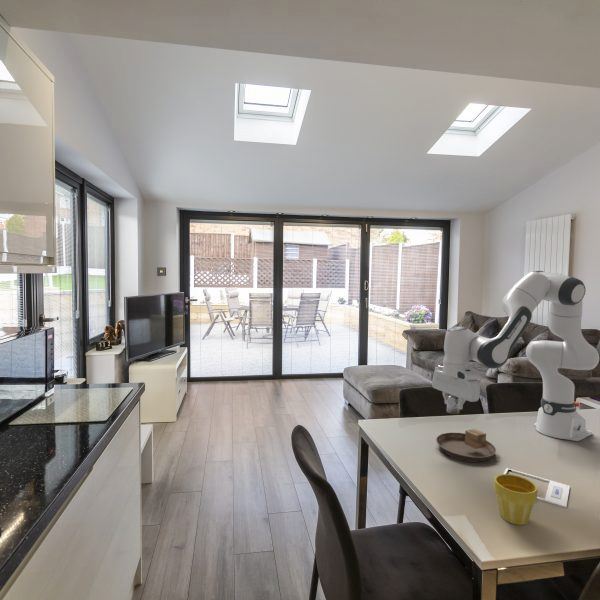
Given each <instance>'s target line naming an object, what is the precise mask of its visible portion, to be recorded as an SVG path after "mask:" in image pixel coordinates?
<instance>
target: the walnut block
mask: <svg viewBox="0 0 600 600" xmlns="http://www.w3.org/2000/svg"><path fill="white" fill-rule="evenodd" d="M464 434H465V444H466V445H468V446H470V447H472V448H474V449H478V448H483V447H485V446H486V441H487V432H483V431H481V430H479V429H477V428H471V429H467V430H465V433H464Z"/></svg>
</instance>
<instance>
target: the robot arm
mask: <svg viewBox="0 0 600 600" xmlns="http://www.w3.org/2000/svg"><path fill="white" fill-rule="evenodd" d="M585 295H586V286H585V283H584V282H583V281H582V280H581V279H579V278H576V277H574V276H572V277H571V276H569V275H564V274H562V273H559V272H555V273H554V272H550V271H549V272H548V271H544V270H533V271H531V272H529V273H526V274H525V275H524V276H523V277H521V278H520V279H519V280H518V281H516V283H514V284H513V285H512V287H510V289H509V290H508V291H507V292H506V293H505V294H504V297H503V298H502V299H501V307H502V310H503V312H504V313H505V314H506V315H507V317H508V319H507V322H506V323H505V324H504V326H503V327H502V329H501V330H500V332H499V333H498V334H497V336H495V337H491V338H489V337H485V336H482V335H480V334H478V333H475V332H473V331H472V330H471V329H469V327H467V326H463V325H462V326H458V325H457V326H451V327H450V328H448V329H447V330H446V332H445V337H444V344H443V351H444V357H443V359H442V360H443V361H442V365H439V364H438V365H436V366H435V367H434V372H433V374H432V381H431V386H432V388H433V389H435V390H437V391H441V392H442V397H443V399H444V404H445V405H447V395H450V394H451V395H454V396H456V397H459V400H460V401H459V403H458V404H456V408H457V409H459V410H463V408H464V406H463V405H464V404H465V402H466V401H468V402H470V403H471V402H472V403H473V402H478V401H479V399H480V397H481V396H480V395H481V394H480V392H481V385H480V382H479V380H480V378H481V375H480V373H479V372H478V371H476V370H475V369H474V368H472V367H471V366H470V365H469V362H470V361H474V362H476V363H479V364H482V365H483V366H484V367H486V368H489V369H499V368H501V367H503V366H505V364H507V361H508V360H509V357H510V355H511V353H512V350H513V348H514V346H515V345H516V343H517V342H518V340H519V339H520V337H521V336H522V335H523V333H524V332H525V330H526V329H527V327H528V326H529V324H530V322H531V320H532V318H533V315H532V314H533V313H534V311H535V310H536V308H537V307H538V306H539V304H541V302H542V301H543V300H544V301H547V302H550V303H549V311H548V322H547V324H548V325H547V327H548V329H549V331H550V332H551V333H552V334H553V335H555V336H556V337H559V338H560V339H562V340H563V341H557V340H546V339H545V340H533V341H530V342H529V343H528V344H527V346H526V348H525V355H526V359H527V360H528V362H530V363H531V364H532V365H534V367H535V368H536V369H537V370H538V372H539V373H540V376H541V378H542V397H541V400H540V407H539V408H538V412H537V417H536V422H534V424H533V426H535V429H536V431H537V432H539V433H541V434H543V435H545V436H548V437H551V438H556V439H561V440H569V441H573V442H579V441H581V440H583V439H586V438H587V437H588V438H589V436H591V435H593V432H592V431H591V430H589V429H588V428H586V424H587V423H586V419H585V418H584V417H583V416H582V415H581V414H580V413H579V412H578V411H577V408H579V407H580V406H581V403H580V402H577V401H576V400H575V388H576V387H575V384H574V382H573V381H572V380H571V379H570V378H568V377H566V376H565V375H562V374H561V373H560V372H559V369H568V370H576V371H589V370H590V371H591V370H593V369H595V368H596V367H597V366H598V364H599V362H600V355H599V352H598V350H597V348H595V347H594V346H593V345H592V344H590V343H589V342H588V341H587V340H586V339H585V337H584V335H583V333H582V316H583V299H584V297H585ZM574 400H575V401H574Z"/></svg>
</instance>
